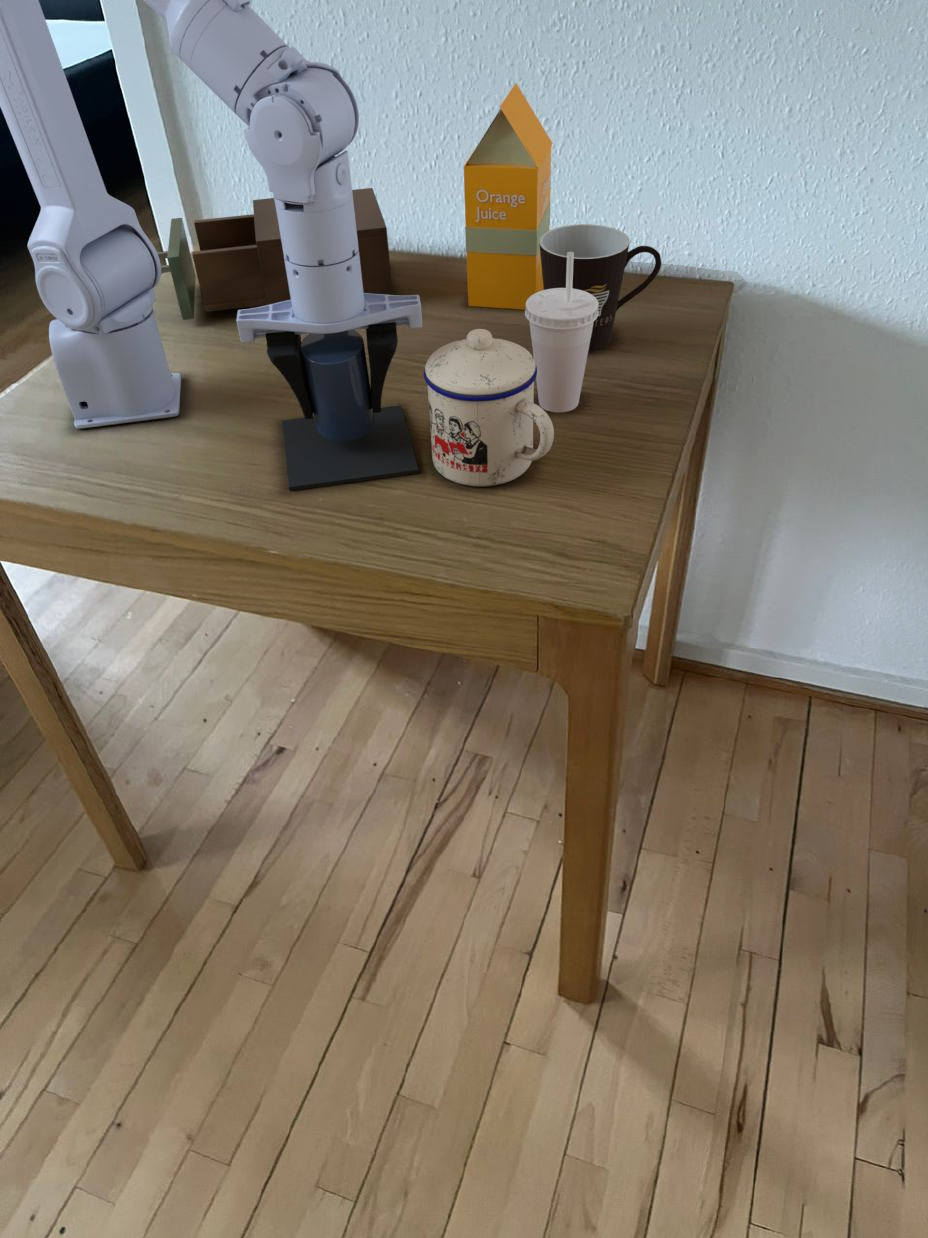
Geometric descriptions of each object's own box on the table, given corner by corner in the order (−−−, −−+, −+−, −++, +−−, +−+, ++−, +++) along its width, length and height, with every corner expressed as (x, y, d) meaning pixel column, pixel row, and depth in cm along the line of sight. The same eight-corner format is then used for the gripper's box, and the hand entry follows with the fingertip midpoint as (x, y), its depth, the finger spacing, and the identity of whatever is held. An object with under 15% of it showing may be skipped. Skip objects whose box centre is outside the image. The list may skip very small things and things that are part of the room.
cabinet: (270, 320, 104) (255, 241, 98) (266, 274, 113) (252, 199, 107) (393, 305, 105) (386, 227, 99) (379, 261, 114) (372, 187, 109)
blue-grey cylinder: (312, 409, 85) (296, 331, 78) (369, 398, 85) (358, 320, 79) (320, 446, 81) (304, 368, 75) (379, 435, 82) (368, 357, 76)
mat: (289, 491, 80) (288, 487, 79) (283, 424, 88) (282, 420, 87) (419, 473, 81) (418, 469, 80) (401, 408, 89) (400, 404, 88)
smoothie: (589, 422, 86) (598, 270, 76) (519, 417, 87) (519, 266, 77) (596, 387, 90) (606, 239, 81) (529, 382, 91) (531, 236, 82)
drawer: (141, 324, 102) (124, 262, 97) (147, 282, 110) (131, 222, 106) (298, 306, 104) (288, 244, 99) (292, 266, 112) (283, 206, 108)
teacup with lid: (408, 463, 82) (396, 336, 74) (479, 420, 87) (476, 297, 79) (512, 517, 76) (512, 386, 68) (583, 468, 80) (591, 340, 72)
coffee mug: (530, 354, 96) (531, 255, 89) (545, 316, 102) (547, 221, 95) (646, 364, 93) (657, 263, 87) (655, 325, 99) (665, 228, 93)
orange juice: (466, 305, 104) (459, 105, 91) (483, 273, 111) (479, 81, 97) (537, 310, 103) (540, 107, 89) (550, 276, 109) (555, 82, 96)
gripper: (412, 225, 76) (423, 379, 85) (229, 239, 75) (260, 394, 84) (419, 259, 71) (430, 420, 80) (222, 275, 70) (256, 436, 79)
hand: (343, 409), depth 82 cm, fingers closed on blue-grey cylinder, 5 cm apart
